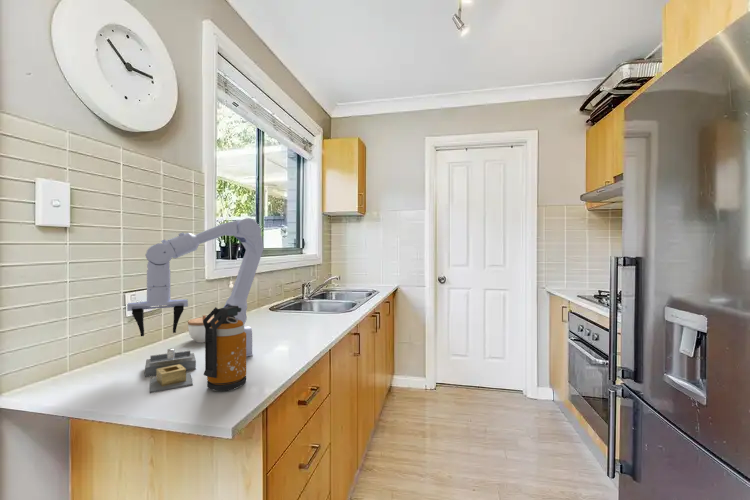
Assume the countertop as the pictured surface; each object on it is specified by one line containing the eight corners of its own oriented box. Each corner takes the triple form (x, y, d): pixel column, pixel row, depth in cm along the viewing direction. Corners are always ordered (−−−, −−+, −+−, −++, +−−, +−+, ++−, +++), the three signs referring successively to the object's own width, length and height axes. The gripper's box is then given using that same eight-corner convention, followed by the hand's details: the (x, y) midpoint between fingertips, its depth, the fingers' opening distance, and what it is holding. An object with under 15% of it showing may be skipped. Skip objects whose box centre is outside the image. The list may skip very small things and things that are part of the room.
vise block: (193, 361, 105) (193, 343, 105) (195, 369, 98) (195, 349, 98) (146, 368, 99) (146, 349, 99) (145, 377, 92) (145, 356, 92)
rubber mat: (190, 374, 94) (190, 372, 94) (192, 385, 87) (192, 383, 87) (151, 380, 90) (151, 378, 90) (149, 392, 82) (149, 391, 82)
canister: (253, 381, 89) (253, 304, 89) (221, 399, 79) (221, 311, 78) (225, 377, 92) (226, 302, 92) (191, 393, 81) (191, 309, 81)
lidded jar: (198, 346, 121) (198, 319, 121) (181, 341, 127) (181, 316, 127) (225, 339, 130) (225, 314, 130) (209, 335, 136) (209, 311, 136)
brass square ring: (179, 375, 92) (179, 364, 92) (186, 380, 88) (186, 369, 88) (156, 380, 88) (156, 368, 88) (161, 386, 85) (161, 374, 85)
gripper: (186, 283, 106) (186, 328, 106) (128, 286, 98) (128, 333, 98) (188, 285, 100) (188, 332, 100) (126, 288, 92) (126, 339, 92)
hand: (158, 333), depth 98 cm, fingers open, 7 cm apart
